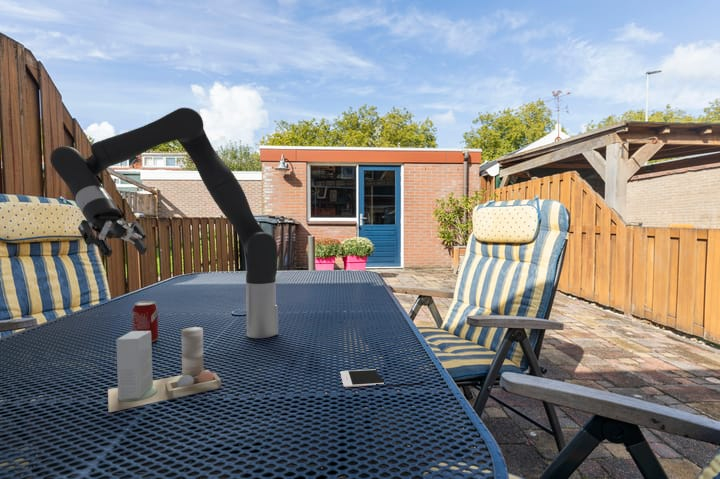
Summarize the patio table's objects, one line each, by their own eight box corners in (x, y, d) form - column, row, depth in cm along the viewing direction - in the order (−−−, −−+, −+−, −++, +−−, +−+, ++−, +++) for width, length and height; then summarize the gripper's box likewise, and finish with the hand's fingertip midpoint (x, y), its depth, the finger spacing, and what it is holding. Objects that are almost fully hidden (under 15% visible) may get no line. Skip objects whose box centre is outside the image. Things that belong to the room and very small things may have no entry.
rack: (208, 374, 93) (207, 324, 92) (221, 393, 83) (220, 336, 82) (108, 395, 82) (106, 337, 81) (108, 418, 72) (107, 353, 71)
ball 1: (192, 386, 83) (192, 371, 83) (195, 391, 81) (195, 376, 81) (176, 389, 82) (175, 374, 81) (178, 395, 79) (178, 379, 79)
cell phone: (423, 385, 88) (423, 381, 88) (343, 390, 85) (343, 386, 85) (412, 370, 96) (412, 366, 96) (339, 374, 94) (339, 371, 94)
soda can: (147, 345, 115) (146, 305, 114) (127, 344, 116) (126, 304, 116) (163, 339, 122) (162, 301, 121) (144, 338, 123) (143, 300, 122)
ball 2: (212, 381, 86) (211, 367, 85) (215, 386, 83) (215, 372, 83) (196, 385, 84) (196, 370, 84) (199, 390, 81) (199, 375, 81)
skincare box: (132, 387, 82) (131, 330, 82) (153, 386, 82) (152, 330, 82) (116, 399, 76) (115, 339, 76) (139, 399, 76) (138, 338, 76)
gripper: (73, 195, 93) (103, 244, 88) (131, 198, 105) (160, 241, 101) (61, 217, 95) (90, 266, 90) (120, 218, 108) (147, 261, 103)
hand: (127, 253), depth 96 cm, fingers open, 8 cm apart
